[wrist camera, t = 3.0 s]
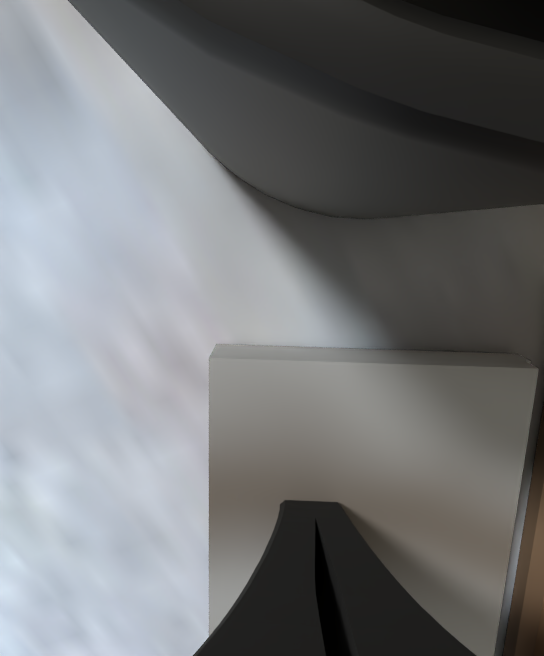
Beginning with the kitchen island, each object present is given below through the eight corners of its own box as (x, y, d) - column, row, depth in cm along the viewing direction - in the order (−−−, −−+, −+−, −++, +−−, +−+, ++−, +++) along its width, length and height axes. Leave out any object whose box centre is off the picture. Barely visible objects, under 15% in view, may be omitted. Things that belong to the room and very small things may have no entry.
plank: (474, 651, 13) (494, 693, 12) (215, 641, 13) (209, 682, 12) (517, 353, 11) (546, 369, 10) (216, 343, 11) (208, 357, 10)
